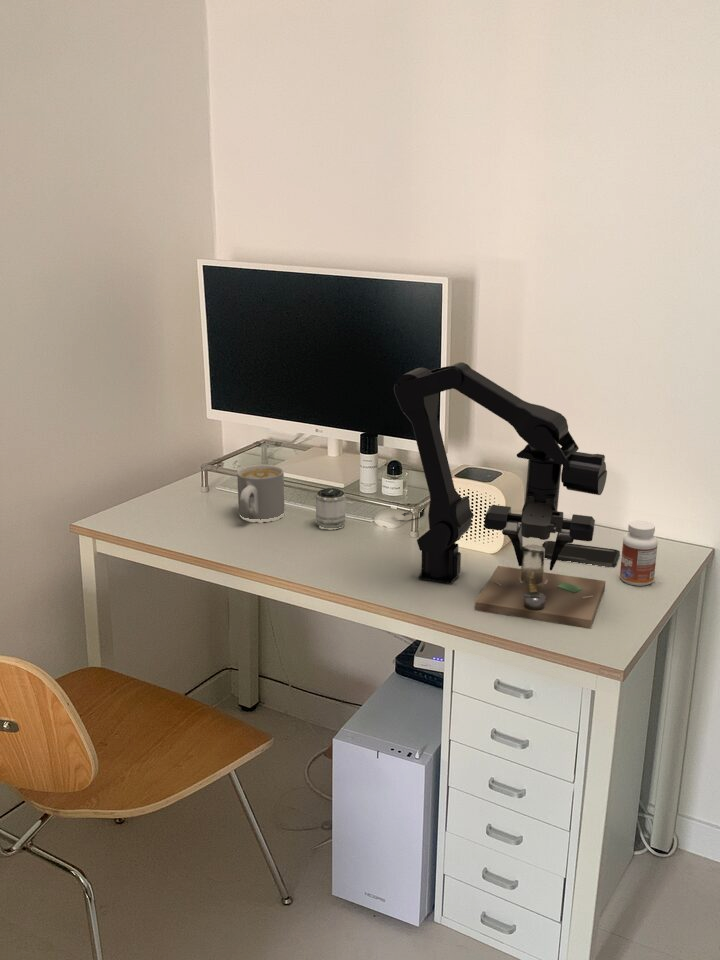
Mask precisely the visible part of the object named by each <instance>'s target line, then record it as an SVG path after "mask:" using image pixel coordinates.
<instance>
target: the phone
mask: <svg viewBox="0 0 720 960" xmlns="http://www.w3.org/2000/svg"><path fill="white" fill-rule="evenodd" d="M555 542H556V540H555V541H553V540H546V541H545V540H544V542H543V544H542V545H541V546H542V547H544V548H545V557H544V558H547V559H546V560H551V558H552V554H553V550H554V546H555ZM620 552H621V551H620V550H618V549H614V548H607V547H599V546H592V545H586V544H585V545H583V544H576V543H566V545H565V546H564V547H563V549H562V550H561V552H560V554H559V556H558V558H557V560H556V561H558V560H561V561H560V562H566V561H571V562H570V563H573V562H578V563H577V564H580V563H585V564H584V565H587V564H592V565H591V566H595V565H598V566H597V567H602V566H605V568H609V567H613V568H615V566H616V567H617V564H618V561H619V559H620V554H621V553H620Z"/></svg>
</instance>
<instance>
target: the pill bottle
mask: <svg viewBox="0 0 720 960" xmlns="http://www.w3.org/2000/svg"><path fill="white" fill-rule="evenodd" d="M627 529H628V530H627V531H628V532H627V533H626V534H625V535H624V536H623V539H622V547H621V548H622V551H621V558H620V559H621V561H620V569H619V570H620V571H619V578H620V579H621V580H622V581H623V582H624V583H626V584H628V585H632V586H637V587H640V586H641V587H643V586H648V585H650V584H652V583H653V582H654V581H655V580H654V579H655V574H656V564H657V555H658V545H659V542H658V538H657V537H656V536H655V535H654V534H655V531H656V525H655V524H654V523H652V522H651V521H648V520H644V519H643V520H641V519H634V520H631V521H629V523H628V527H627Z"/></svg>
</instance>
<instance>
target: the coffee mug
mask: <svg viewBox="0 0 720 960" xmlns="http://www.w3.org/2000/svg"><path fill="white" fill-rule="evenodd" d="M284 474H285V473H284V470H283V468H281V467H279V466H275V465H270V464H254V465H253V464H252V465H248V466H245V467H242V468H240V469H238V470H237V473H236V475H237V498H238V502H237V503H238V516H239V515H241V516H242V517H244V518H249V519H260V520H261V519H269V518H274V517H278V516H280V515H281V514H283V513H284V511H285V486H284V485H285V483H284V482H285V478H284Z"/></svg>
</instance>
